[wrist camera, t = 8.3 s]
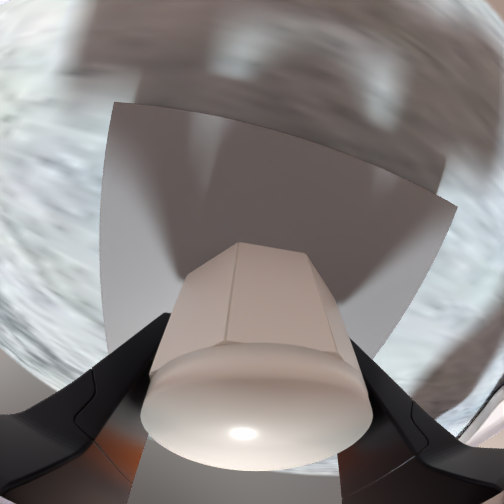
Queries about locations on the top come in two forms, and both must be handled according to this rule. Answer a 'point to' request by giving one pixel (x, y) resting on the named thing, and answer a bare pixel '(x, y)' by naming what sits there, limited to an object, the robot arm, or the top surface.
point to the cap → (256, 366)
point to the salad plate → (486, 421)
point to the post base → (255, 217)
